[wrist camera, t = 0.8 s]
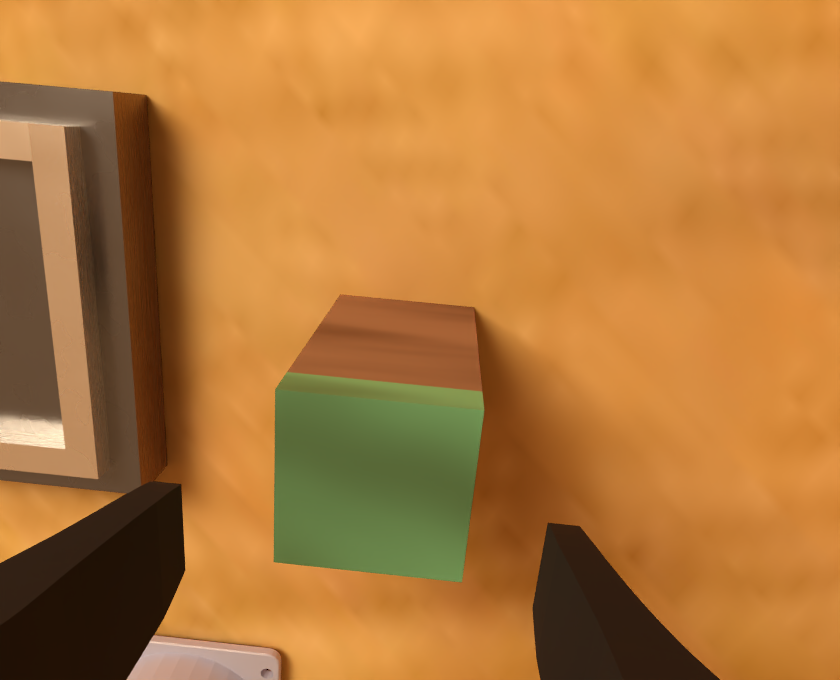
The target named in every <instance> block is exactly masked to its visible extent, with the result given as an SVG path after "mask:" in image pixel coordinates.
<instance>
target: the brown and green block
mask: <svg viewBox="0 0 840 680" xmlns="http://www.w3.org/2000/svg"><path fill="white" fill-rule="evenodd" d="M483 417H484V402H483V392H482V382H481V372H480V362H479V352H478V342H477V332H476V322H475V312H474V307H464V306H453V305H443V304H433V303H422V302H412V301H402V300H391V299H381V298H371V297H360V296H350V295H340V296H339V298H338V299H337V300H336V302H335V303H334V305H333V306H332V308H331V309H330V311H329V312H328V314H327V315H326V316H325V318H324V319H323V321H322V322H321V324H320V325H319V327H318V328H317V330H316V331H315V332H314V334H313V335H312V337H311V338H310V340H309V341H308V343H307V344H306V346H305V347H304V348H303V350H302V351H301V353H300V354H299V356H298V357H297V359H296V360H295V362H294V363H293V364H292V366H291V367H290V369H289V370H288V372H287V373H286V375H285V376H284V378H283V379H282V380H281V382H280V383H279V385H278V386H277V388H276V389H275V484H274V562H277V563H286V564H296V565H305V566H314V567H324V568H333V569H342V570H352V571H361V572H370V573H380V574H389V575H398V576H407V577H417V578H426V579H435V580H445V581H454V582H462V578H463V570H464V562H465V555H466V547H467V539H468V532H469V524H470V516H471V509H472V501H473V493H474V486H475V478H476V470H477V463H478V455H479V447H480V440H481V432H482V424H483Z"/></svg>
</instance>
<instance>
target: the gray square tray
mask: <svg viewBox="0 0 840 680" xmlns="http://www.w3.org/2000/svg"><path fill="white" fill-rule="evenodd" d="M166 466H167V454H166V436H165V418H164V400H163V382H162V364H161V346H160V328H159V310H158V292H157V274H156V256H155V238H154V220H153V202H152V184H151V166H150V148H149V130H148V112H147V95H141V94H131V93H121V92H111V91H99V90H88V89H77V88H66V87H55V86H43V85H32V84H21V83H10V82H0V480H4V481H14V482H23V483H33V484H42V485H52V486H61V487H71V488H80V489H90V490H99V491H109V492H118V493H129V492H131V491H133V490H134V489H136V488H138V487H140V486H142V485H144V484H146V483H148V482H150V481H154V480H155V479H156V478H157V477H158V475H159V474H160V473H161V472H162V471H163V469H164V468H165V467H166Z"/></svg>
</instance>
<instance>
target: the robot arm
mask: <svg viewBox="0 0 840 680" xmlns="http://www.w3.org/2000/svg"><path fill="white" fill-rule="evenodd" d="M184 572H185V554H184V534H183V513H182V492H181V484H173V483H164V482H154V481H150V482H148V483H146V484H144V485H142V486H140V487H138V488H136V489H134V490H133V491H131V492H129V493H127V494H125V495H124V496H122V497H120V498H118V499H117V500H115V501H113V502H111V503H110V504H108V505H106V506H105V507H103V508H101V509H99V510H98V511H96V512H94V513H92V514H91V515H89V516H87V517H85V518H84V519H82V520H80V521H78V522H77V523H75V524H73V525H71V526H69V527H68V528H66V529H64V530H62V531H61V532H59V533H57V534H55V535H53V536H52V537H50V538H48V539H46V540H44V541H42V542H40V543H38V544H36V545H34V546H32V547H30V548H28V549H27V550H25V551H23V552H21V553H19V554H17V555H15V556H13V557H11V558H9V559H7V560H5V561H4V562H2V563H0V680H281V655H280V654H279V653H278V652H277V651H276V650H274V649H271V648H264V647H255V646H246V645H237V644H228V643H219V642H210V641H201V640H192V639H183V638H174V637H165V636H156V635H154V634H155V632H156V631H157V629H158V627H159V625H160V624H161V622H162V620H163V619H164V617H165V615H166V612H167V610H168V608H169V606H170V604H171V602H172V600H173V597H174V595H175V593H176V591H177V588H178V586H179V584H180V581H181V579H182V577H183V574H184ZM533 620H534V634H535V645H536V657H537V663H538V669H539V674H540V679H541V680H720V679H719V678H718V677H716V676H715V675H714V674H713V673H712V672H711V671H710V670H709V669H708V668H706V667H705V666H704V665H703V664H702V663H701V662H700V661H699V660H698V659H696V658H695V657H694V656H693V655H692V654H691V653H690V652H689V651H688V650H687V649H686V648H685V647H684V646H683V645H682V644H681V643H680V642H679V641H678V640H677V639H676V638H675V637H674V636H673V635H672V634H671V633H670V632H669V631H668V630H667V629H666V628H665V627H664V626H663V625H662V624H661V623H660V622H659V620H658V619H657V618H656V617H655V616H654V615H653V614H652V613H651V612H650V611H649V610H648V609H647V607H646V606H645V605H644V604H643V603H642V602H641V601H640V600H639V598H638V597H637V596H636V595H635V594H634V593H633V592H632V590H631V589H630V588H629V587H628V586H627V585H626V583H625V582H624V581H623V580H622V579H621V577H620V576H619V575H618V574H617V572H616V571H615V570H614V569H613V567H612V566H611V565H610V564H609V563H608V561H607V560H606V559H605V558H604V556H603V555H602V554H601V552H600V551H599V550H598V549H597V547H596V546H595V545H594V544H593V542H592V541H591V540H590V539H589V537H588V536H587V535H586V534H585V532H584V531H583V530H582V529H581V527H580V526H573V525H563V524H554V523H548V525H547V531H546V536H545V542H544V547H543V553H542V559H541V564H540V570H539V575H538V581H537V586H536V592H535V598H534V603H533ZM266 669H269V670H271V671H269V670H266Z"/></svg>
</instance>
